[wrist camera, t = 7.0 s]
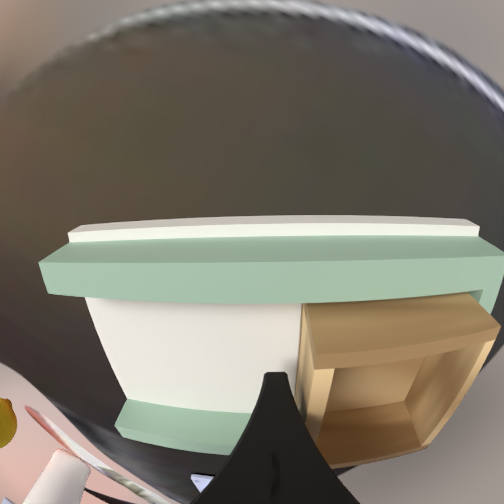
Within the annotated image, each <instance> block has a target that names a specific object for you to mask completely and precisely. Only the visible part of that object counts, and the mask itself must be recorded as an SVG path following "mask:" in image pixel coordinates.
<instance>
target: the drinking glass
mask: <svg viewBox="0 0 504 504" xmlns="http://www.w3.org/2000/svg"><path fill="white" fill-rule="evenodd" d="M89 474H90V468H89V466H88V465H87V464H86V463H85V462H83V461H82V460H81V459H79V458H78V457H76V456H75V455H73V454H71V453H69V452H68V451H65V450H63V449H56V450H55V452H54V454H53V456H52V457H51V459H50V461H49V462H48V464H47V465H46V467H45V469H44V470H43V471H42V473H41V474H40V476H39V478H38V479H37V481H36V482H35V484H34V485H33V487H32V488H31V490H30V492H29V493H28V495H27V496H26V498H25V500H24V502H23V503H22V504H80V501H81V498H82V494H83V491H84V488H85V485H86V482H87V479H88V477H89Z"/></svg>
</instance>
